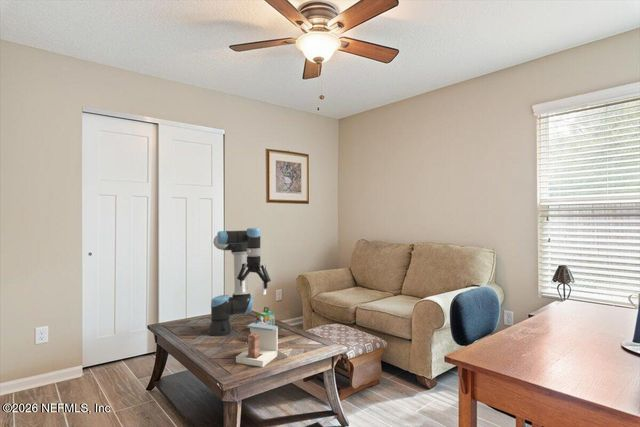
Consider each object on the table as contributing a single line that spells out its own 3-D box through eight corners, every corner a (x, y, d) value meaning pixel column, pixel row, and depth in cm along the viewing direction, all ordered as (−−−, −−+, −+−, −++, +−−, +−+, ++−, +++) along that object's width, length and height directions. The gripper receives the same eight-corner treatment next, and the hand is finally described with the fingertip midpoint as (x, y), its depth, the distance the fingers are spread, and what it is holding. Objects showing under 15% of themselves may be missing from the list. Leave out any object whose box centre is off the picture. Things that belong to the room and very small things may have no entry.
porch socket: (235, 362, 187) (235, 331, 187) (252, 351, 202) (252, 322, 202) (262, 367, 182) (262, 335, 182) (277, 355, 196) (277, 326, 196)
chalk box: (255, 329, 240) (255, 307, 240) (266, 326, 247) (266, 305, 247) (264, 332, 234) (264, 310, 234) (275, 329, 241) (275, 307, 241)
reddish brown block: (248, 362, 187) (248, 335, 188) (252, 359, 191) (252, 333, 191) (254, 363, 186) (254, 336, 186) (259, 360, 190) (258, 333, 190)
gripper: (230, 255, 202) (231, 292, 203) (269, 257, 193) (269, 297, 193) (238, 253, 209) (238, 289, 210) (276, 255, 200) (276, 293, 200)
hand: (253, 293), depth 201 cm, fingers open, 13 cm apart
